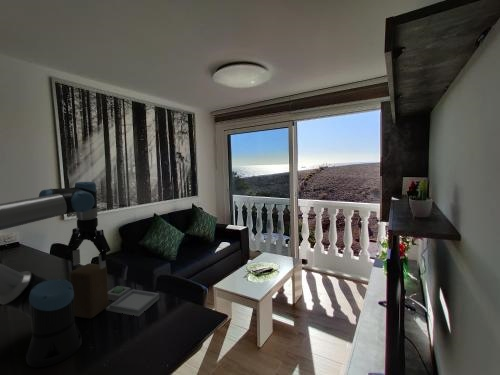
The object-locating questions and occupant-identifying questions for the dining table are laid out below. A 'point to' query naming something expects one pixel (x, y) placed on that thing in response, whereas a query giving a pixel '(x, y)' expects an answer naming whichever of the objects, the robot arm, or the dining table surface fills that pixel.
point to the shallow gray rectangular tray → (134, 302)
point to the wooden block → (89, 290)
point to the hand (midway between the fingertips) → (89, 266)
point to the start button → (118, 289)
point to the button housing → (116, 296)
